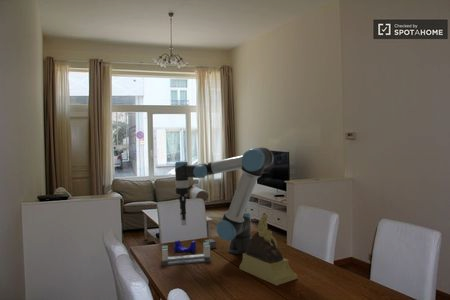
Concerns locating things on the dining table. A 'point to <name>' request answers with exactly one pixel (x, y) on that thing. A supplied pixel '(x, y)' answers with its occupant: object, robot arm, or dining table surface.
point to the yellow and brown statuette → (266, 257)
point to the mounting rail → (186, 259)
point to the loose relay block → (211, 243)
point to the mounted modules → (205, 249)
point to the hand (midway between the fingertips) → (183, 222)
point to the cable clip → (180, 248)
